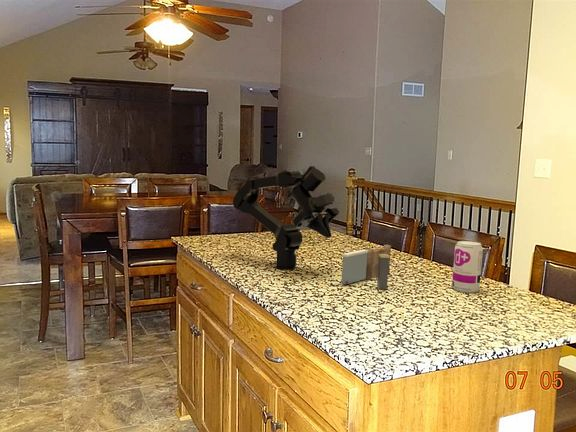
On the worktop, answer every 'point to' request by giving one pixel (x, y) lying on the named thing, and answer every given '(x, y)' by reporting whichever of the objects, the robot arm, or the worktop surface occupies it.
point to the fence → (375, 261)
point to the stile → (383, 271)
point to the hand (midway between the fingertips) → (329, 237)
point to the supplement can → (467, 266)
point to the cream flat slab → (354, 266)
